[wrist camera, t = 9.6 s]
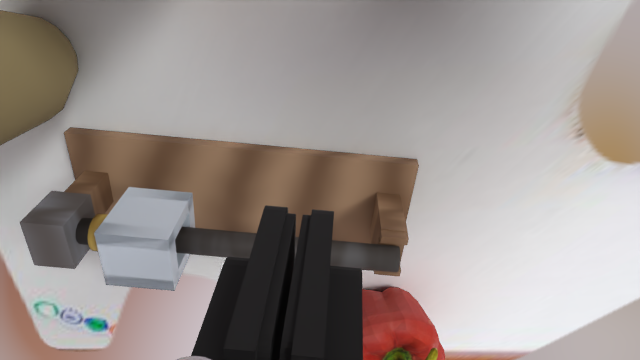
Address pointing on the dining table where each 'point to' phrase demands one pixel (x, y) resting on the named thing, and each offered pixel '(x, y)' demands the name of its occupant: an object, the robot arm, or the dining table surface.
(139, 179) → the rod stand
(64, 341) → the dining table surface
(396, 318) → the vegetable
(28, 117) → the squeeze bottle
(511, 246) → the dining table surface
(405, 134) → the dining table surface
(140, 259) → the sleeve
